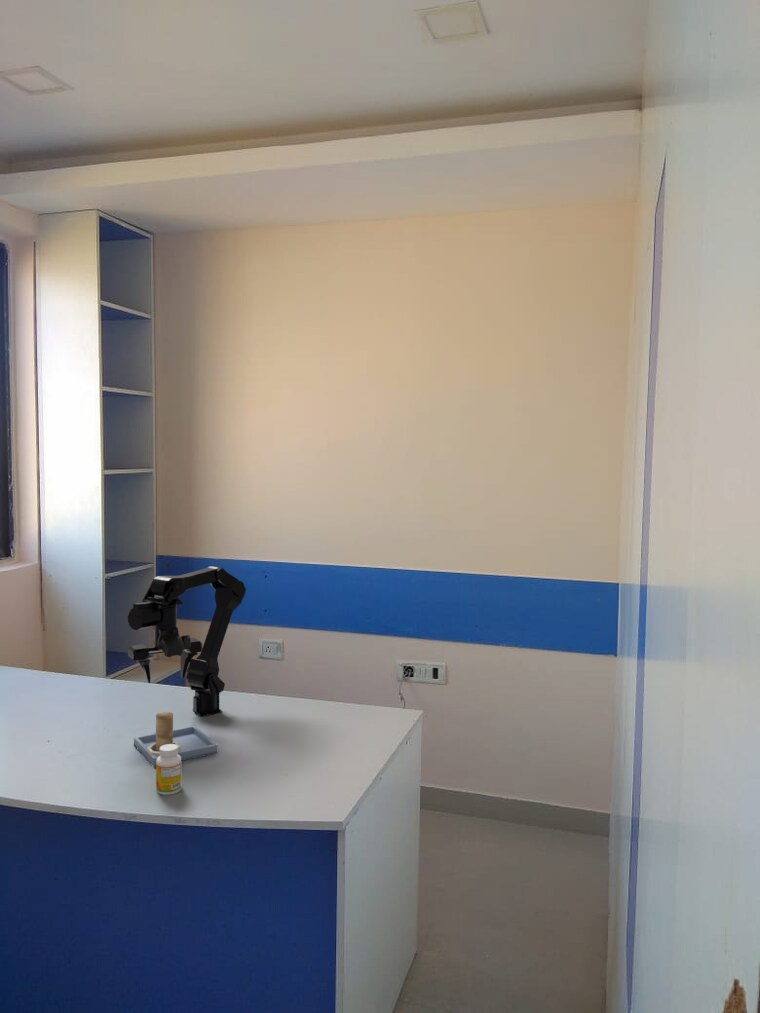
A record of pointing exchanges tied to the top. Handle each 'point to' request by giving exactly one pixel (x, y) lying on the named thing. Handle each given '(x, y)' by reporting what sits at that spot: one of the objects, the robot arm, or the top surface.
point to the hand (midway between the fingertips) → (165, 680)
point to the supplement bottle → (168, 770)
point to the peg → (164, 729)
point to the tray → (178, 744)
